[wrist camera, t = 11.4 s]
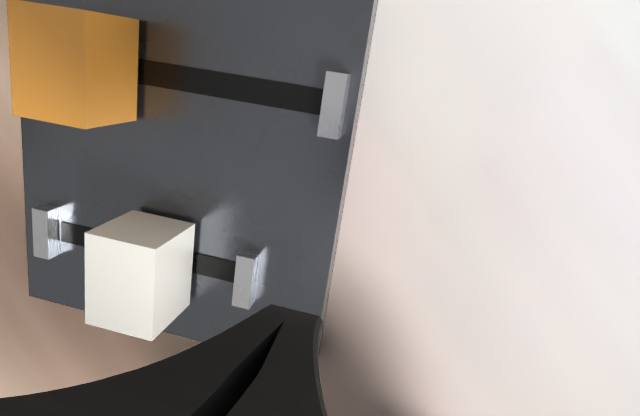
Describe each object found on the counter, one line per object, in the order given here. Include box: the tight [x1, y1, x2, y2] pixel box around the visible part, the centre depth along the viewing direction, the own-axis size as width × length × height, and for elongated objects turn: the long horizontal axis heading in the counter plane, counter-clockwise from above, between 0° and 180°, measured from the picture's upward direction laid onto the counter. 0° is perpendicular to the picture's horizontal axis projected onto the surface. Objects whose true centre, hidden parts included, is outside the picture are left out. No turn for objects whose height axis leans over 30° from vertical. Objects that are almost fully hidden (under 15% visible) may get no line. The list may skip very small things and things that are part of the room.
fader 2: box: [84, 210, 195, 341], centre depth 20 cm, size 4×3×3 cm
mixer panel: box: [21, 0, 378, 355], centre depth 21 cm, size 16×15×2 cm
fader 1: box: [7, 0, 139, 129], centre depth 18 cm, size 4×3×3 cm
